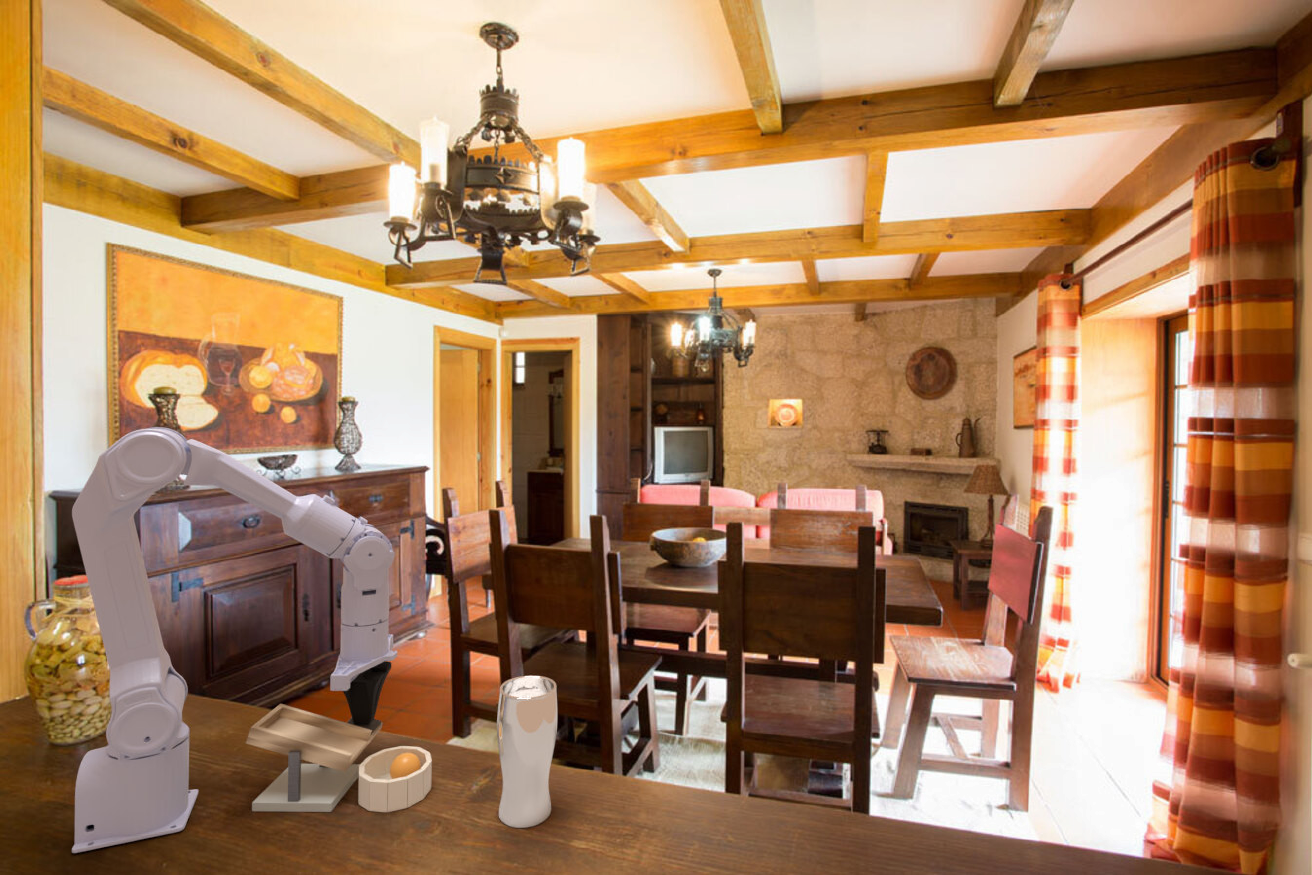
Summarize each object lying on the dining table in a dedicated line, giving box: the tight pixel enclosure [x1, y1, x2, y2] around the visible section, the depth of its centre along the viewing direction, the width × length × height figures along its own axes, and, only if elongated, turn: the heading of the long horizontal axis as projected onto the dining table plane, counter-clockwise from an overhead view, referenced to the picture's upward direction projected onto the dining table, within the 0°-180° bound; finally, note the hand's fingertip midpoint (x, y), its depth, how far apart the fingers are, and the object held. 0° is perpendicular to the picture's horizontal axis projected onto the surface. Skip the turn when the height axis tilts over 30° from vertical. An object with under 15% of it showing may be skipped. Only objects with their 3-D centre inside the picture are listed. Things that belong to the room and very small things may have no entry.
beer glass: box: [496, 675, 558, 829], centre depth 74 cm, size 7×7×15 cm
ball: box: [390, 753, 421, 779], centre depth 78 cm, size 4×4×4 cm
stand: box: [251, 750, 361, 813], centre depth 77 cm, size 9×8×7 cm
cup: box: [357, 745, 433, 813], centre depth 78 cm, size 8×8×4 cm
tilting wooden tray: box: [245, 703, 384, 772], centre depth 79 cm, size 12×11×2 cm
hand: (363, 722), depth 83 cm, fingers closed, pressing on tilting wooden tray
